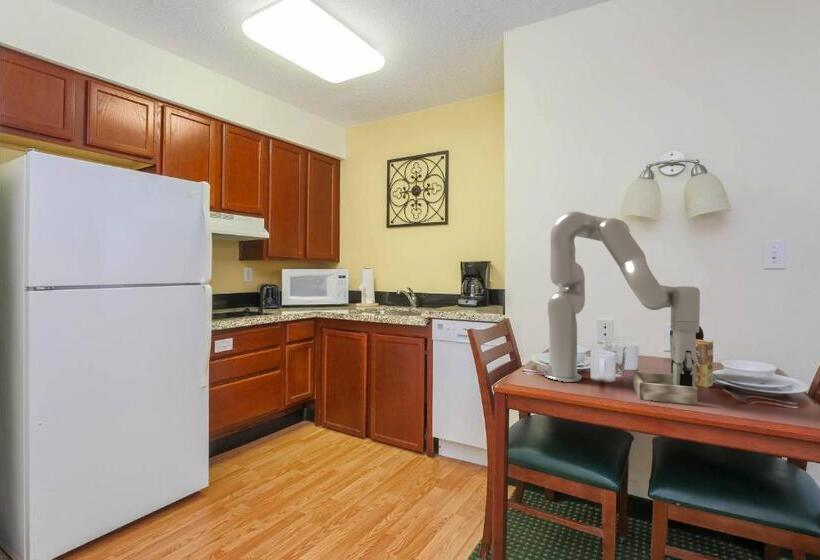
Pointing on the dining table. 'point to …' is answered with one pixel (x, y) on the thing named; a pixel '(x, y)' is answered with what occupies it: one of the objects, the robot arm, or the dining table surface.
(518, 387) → the dining table surface
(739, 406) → the dining table surface
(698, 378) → the candy box
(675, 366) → the green block
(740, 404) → the dining table surface
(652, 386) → the crate
